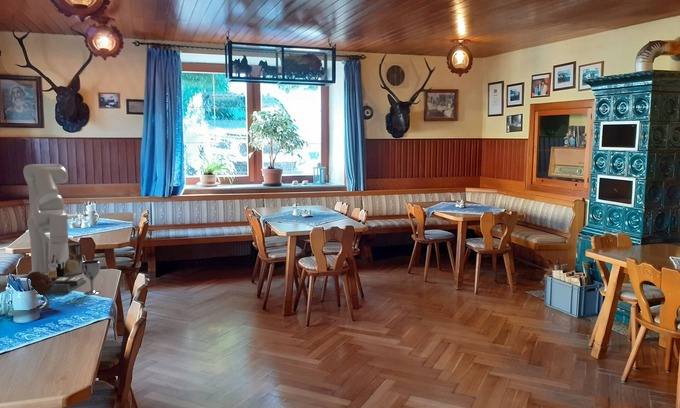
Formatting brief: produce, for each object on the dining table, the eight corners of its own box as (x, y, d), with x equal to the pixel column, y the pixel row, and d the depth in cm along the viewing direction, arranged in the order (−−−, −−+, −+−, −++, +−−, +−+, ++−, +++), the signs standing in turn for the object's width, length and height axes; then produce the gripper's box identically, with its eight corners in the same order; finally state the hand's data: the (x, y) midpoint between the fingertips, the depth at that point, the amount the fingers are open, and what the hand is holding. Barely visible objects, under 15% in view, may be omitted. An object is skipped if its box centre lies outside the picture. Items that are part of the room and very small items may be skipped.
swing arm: (48, 269, 258) (48, 263, 257) (57, 268, 259) (57, 262, 259) (48, 278, 242) (47, 271, 242) (57, 277, 244) (57, 270, 243)
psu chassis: (55, 282, 264) (54, 267, 263) (85, 282, 264) (85, 267, 263) (35, 293, 245) (35, 277, 244) (68, 293, 246) (67, 277, 245)
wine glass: (104, 290, 251) (103, 260, 249) (95, 295, 243) (94, 264, 241) (89, 290, 251) (87, 259, 250) (79, 294, 244) (77, 263, 242)
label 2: (73, 278, 260) (73, 277, 260) (80, 278, 260) (80, 277, 260) (68, 280, 255) (68, 280, 255) (76, 280, 256) (76, 280, 255)
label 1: (61, 278, 260) (61, 277, 260) (68, 278, 260) (68, 277, 260) (56, 280, 255) (56, 280, 255) (63, 280, 255) (63, 280, 255)
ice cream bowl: (45, 308, 223) (43, 274, 221) (19, 308, 223) (17, 274, 222) (59, 301, 234) (57, 268, 232) (34, 300, 234) (33, 268, 232)
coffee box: (79, 270, 287) (78, 242, 285) (83, 273, 283) (81, 244, 281) (61, 273, 281) (60, 244, 279) (64, 275, 277) (63, 246, 275)
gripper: (58, 235, 252) (60, 271, 255) (42, 242, 238) (44, 281, 240) (74, 235, 253) (75, 272, 256) (59, 242, 238) (61, 281, 241)
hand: (60, 276), depth 248 cm, fingers closed
